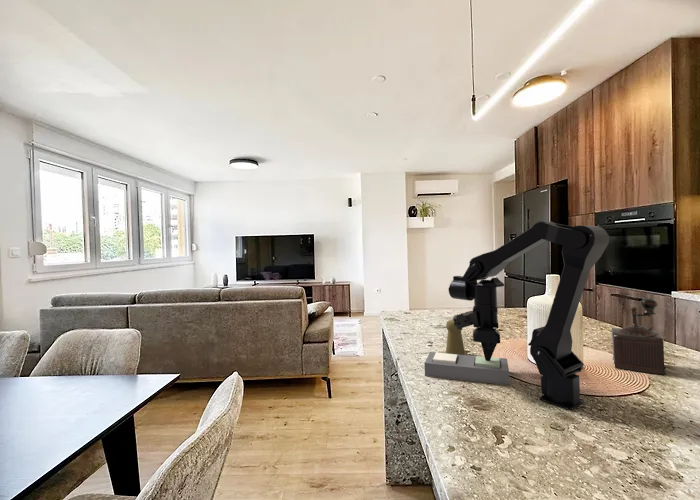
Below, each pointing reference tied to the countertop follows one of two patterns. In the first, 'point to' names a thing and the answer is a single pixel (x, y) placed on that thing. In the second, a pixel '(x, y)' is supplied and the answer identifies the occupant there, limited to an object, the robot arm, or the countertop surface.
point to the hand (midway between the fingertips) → (487, 360)
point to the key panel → (468, 370)
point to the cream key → (445, 358)
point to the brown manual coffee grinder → (639, 344)
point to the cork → (454, 339)
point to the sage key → (487, 362)
